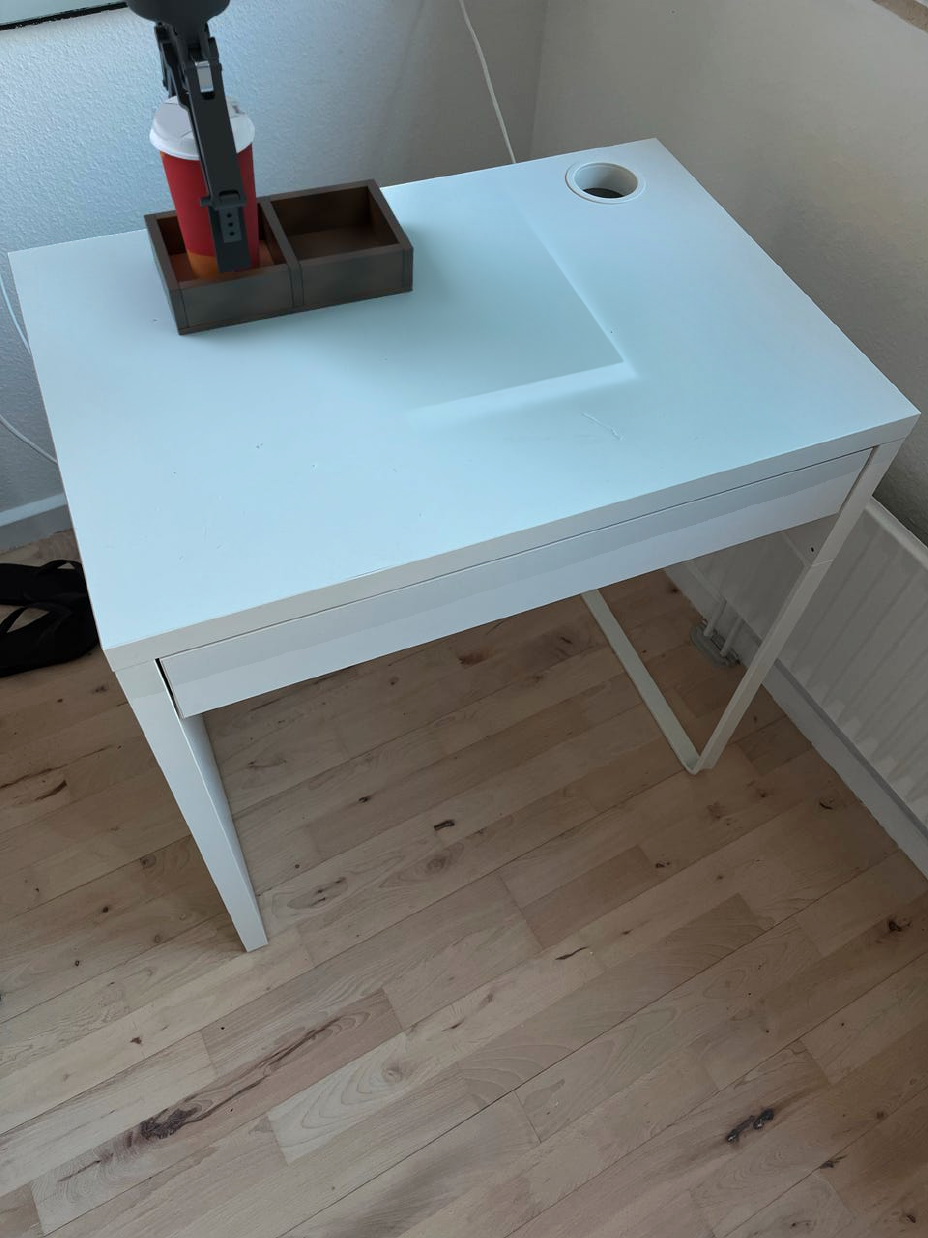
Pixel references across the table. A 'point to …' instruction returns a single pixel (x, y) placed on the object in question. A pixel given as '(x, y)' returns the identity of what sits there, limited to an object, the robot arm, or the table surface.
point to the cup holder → (291, 258)
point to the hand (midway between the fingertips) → (217, 224)
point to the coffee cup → (189, 184)
